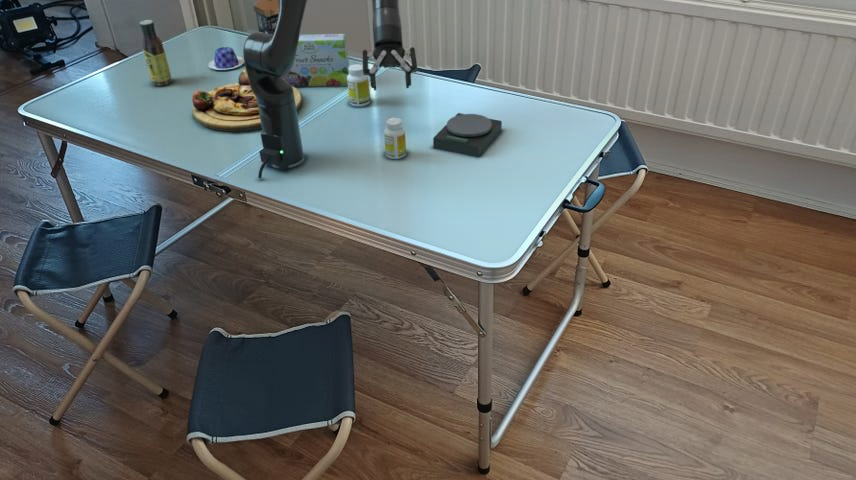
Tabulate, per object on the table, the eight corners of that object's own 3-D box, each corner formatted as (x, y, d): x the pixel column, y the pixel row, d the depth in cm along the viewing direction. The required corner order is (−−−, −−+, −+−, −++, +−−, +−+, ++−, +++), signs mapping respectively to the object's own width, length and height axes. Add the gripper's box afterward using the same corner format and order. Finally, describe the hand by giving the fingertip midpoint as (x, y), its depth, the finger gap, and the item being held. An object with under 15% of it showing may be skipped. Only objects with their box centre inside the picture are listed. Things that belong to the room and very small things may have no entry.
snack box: (281, 88, 226) (273, 40, 217) (284, 81, 231) (276, 34, 222) (349, 86, 226) (344, 38, 217) (351, 79, 230) (345, 32, 221)
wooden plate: (181, 136, 203) (174, 108, 198) (206, 89, 228) (200, 63, 223) (296, 130, 203) (291, 103, 198) (307, 84, 228) (304, 58, 223)
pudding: (219, 75, 236) (215, 59, 233) (202, 65, 244) (198, 49, 241) (251, 64, 243) (248, 49, 239) (234, 55, 250) (231, 40, 247)
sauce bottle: (151, 81, 234) (133, 19, 222) (170, 77, 236) (154, 16, 224) (154, 88, 229) (136, 26, 217) (174, 84, 231) (157, 22, 219)
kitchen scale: (478, 157, 188) (478, 142, 185) (433, 147, 192) (432, 133, 190) (501, 130, 199) (501, 116, 196) (458, 122, 204) (458, 108, 201)
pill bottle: (372, 98, 218) (368, 63, 211) (368, 107, 213) (365, 71, 207) (351, 98, 219) (347, 62, 212) (347, 107, 214) (343, 71, 207)
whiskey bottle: (276, 71, 237) (258, -31, 217) (261, 63, 243) (243, -37, 224) (303, 63, 242) (288, -38, 222) (288, 55, 248) (272, -44, 229)
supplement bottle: (386, 160, 188) (383, 126, 182) (385, 150, 192) (382, 117, 186) (407, 158, 188) (404, 124, 182) (405, 148, 192) (403, 115, 187)
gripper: (359, 24, 188) (363, 84, 186) (414, 21, 189) (418, 81, 186) (361, 37, 195) (365, 95, 193) (414, 34, 196) (418, 91, 194)
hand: (391, 88), depth 190 cm, fingers open, 8 cm apart
